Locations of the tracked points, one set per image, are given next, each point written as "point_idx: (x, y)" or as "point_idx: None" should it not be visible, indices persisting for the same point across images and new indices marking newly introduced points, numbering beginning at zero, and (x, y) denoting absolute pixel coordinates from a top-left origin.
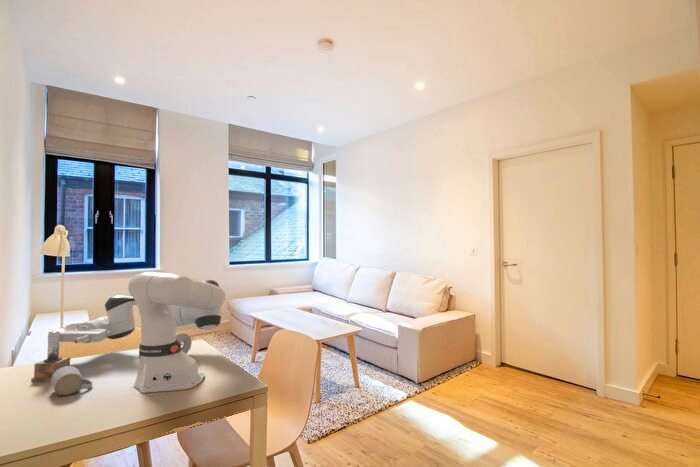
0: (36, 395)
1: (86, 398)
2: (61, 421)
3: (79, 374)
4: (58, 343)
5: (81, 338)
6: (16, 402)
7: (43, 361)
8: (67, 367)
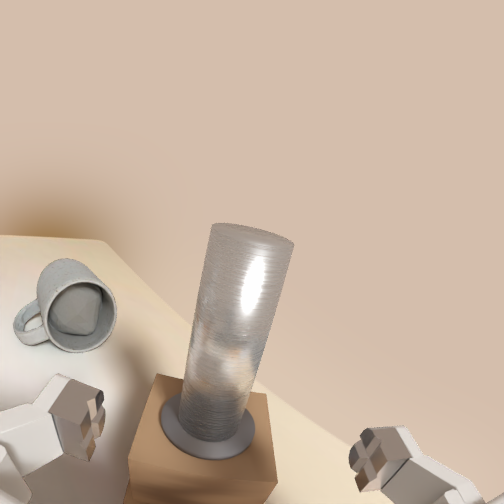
0: (144, 340)
1: (31, 292)
2: (64, 257)
3: (43, 272)
4: (192, 326)
5: (37, 409)
6: (169, 324)
7: (250, 417)
8: (75, 273)
